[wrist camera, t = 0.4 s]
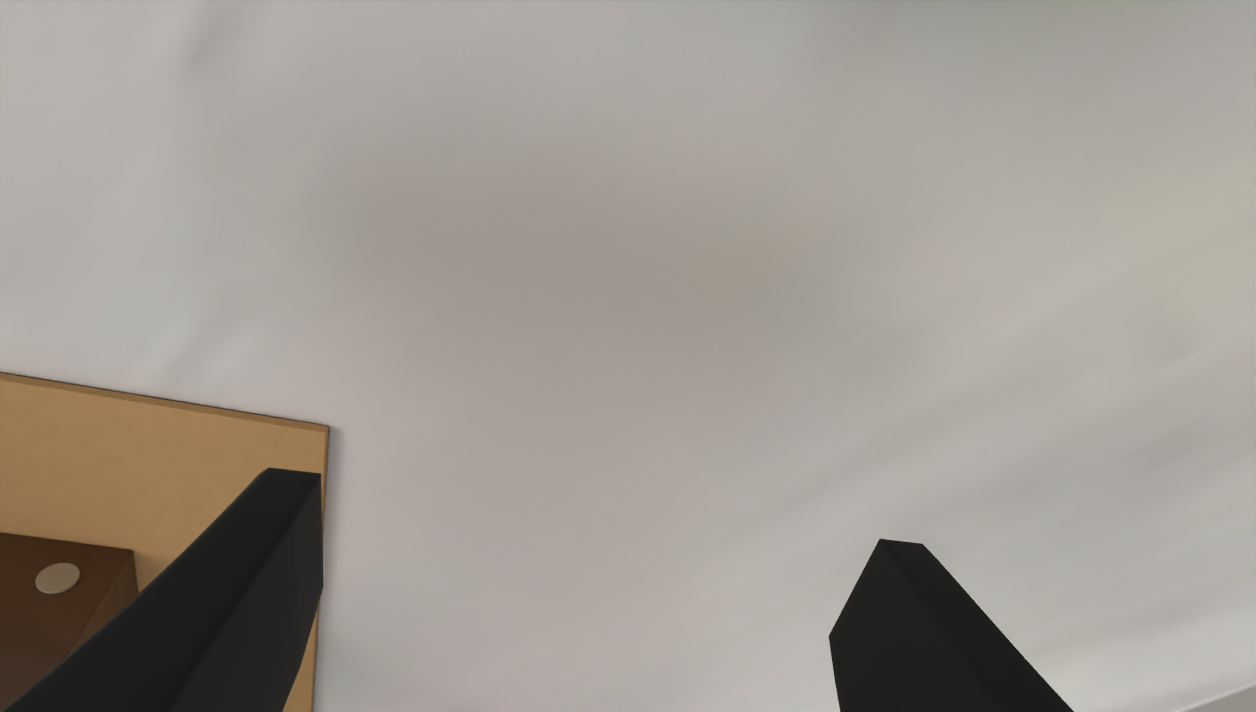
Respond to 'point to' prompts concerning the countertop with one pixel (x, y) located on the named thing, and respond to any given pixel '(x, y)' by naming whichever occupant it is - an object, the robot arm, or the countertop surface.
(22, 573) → the die
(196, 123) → the countertop surface
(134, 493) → the cork mat
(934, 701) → the robot arm
